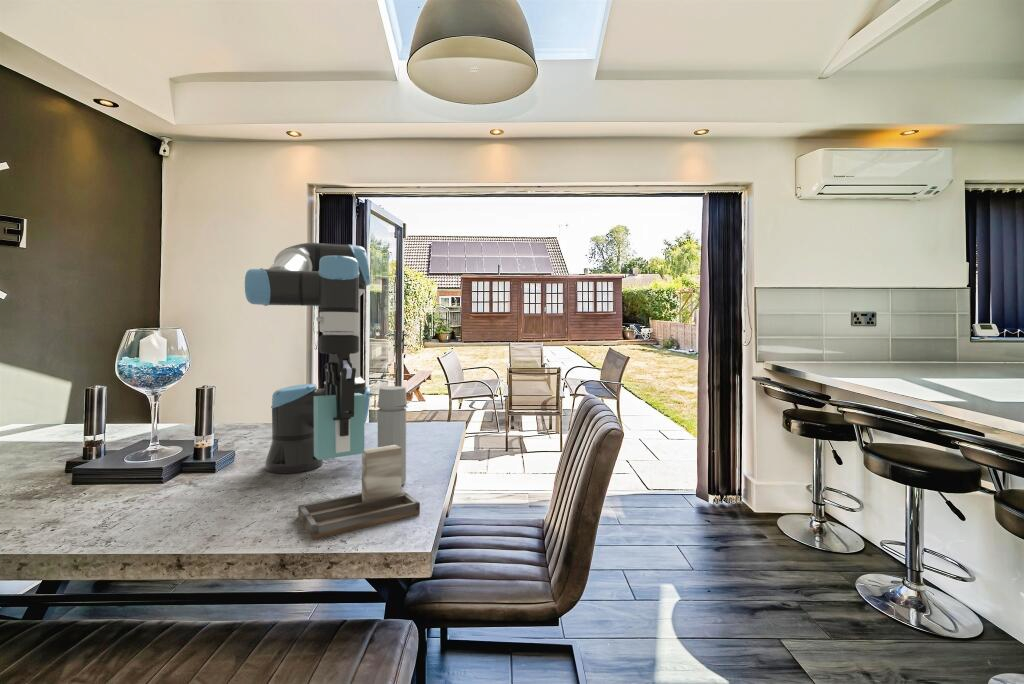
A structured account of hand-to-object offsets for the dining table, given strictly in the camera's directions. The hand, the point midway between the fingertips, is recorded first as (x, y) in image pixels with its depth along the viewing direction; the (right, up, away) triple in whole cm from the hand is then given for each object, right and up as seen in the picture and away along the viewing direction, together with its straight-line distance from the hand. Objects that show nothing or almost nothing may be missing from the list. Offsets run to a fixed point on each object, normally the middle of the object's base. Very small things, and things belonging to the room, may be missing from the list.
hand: (339, 449), depth 95 cm
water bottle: (+4, -15, +27) cm, 31 cm away
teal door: (0, -1, 0) cm, 1 cm away
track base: (+2, -16, +6) cm, 17 cm away
